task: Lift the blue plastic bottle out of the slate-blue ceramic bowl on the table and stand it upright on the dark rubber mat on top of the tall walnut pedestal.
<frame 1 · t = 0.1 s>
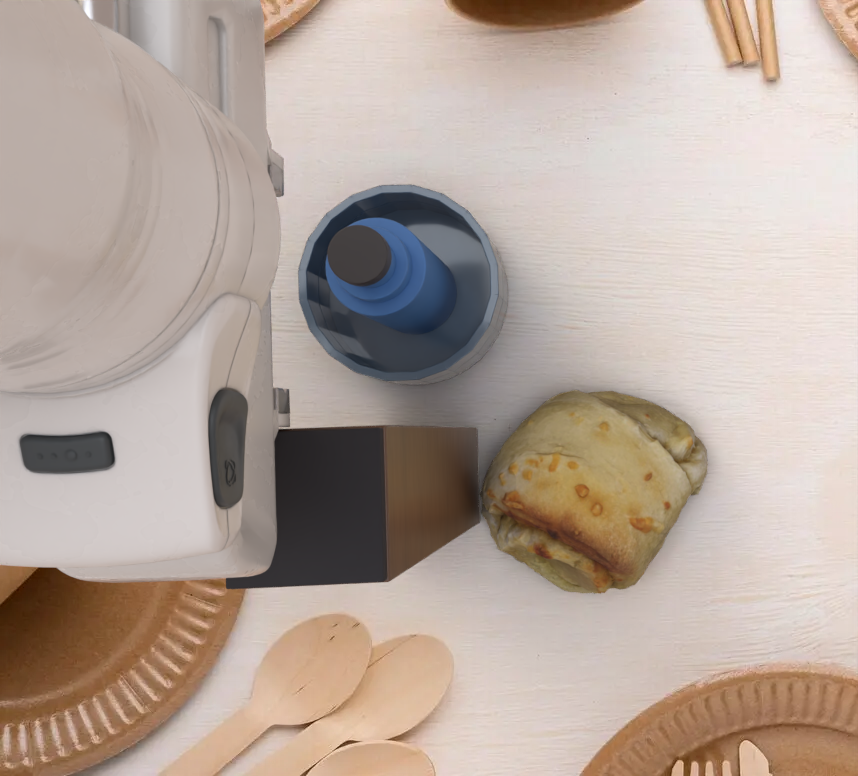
hand: (266, 293, 41), 26 cm above the table, tool pointing down, fingers open, 7 cm apart
pedestal: (430, 477, 66), on the table
mat: (307, 506, 40), resting on pedestal
bowl: (417, 294, 66), on the table
pastry: (595, 489, 67), on the table
bottle: (414, 292, 66), point 1 cm above the table, touching bowl
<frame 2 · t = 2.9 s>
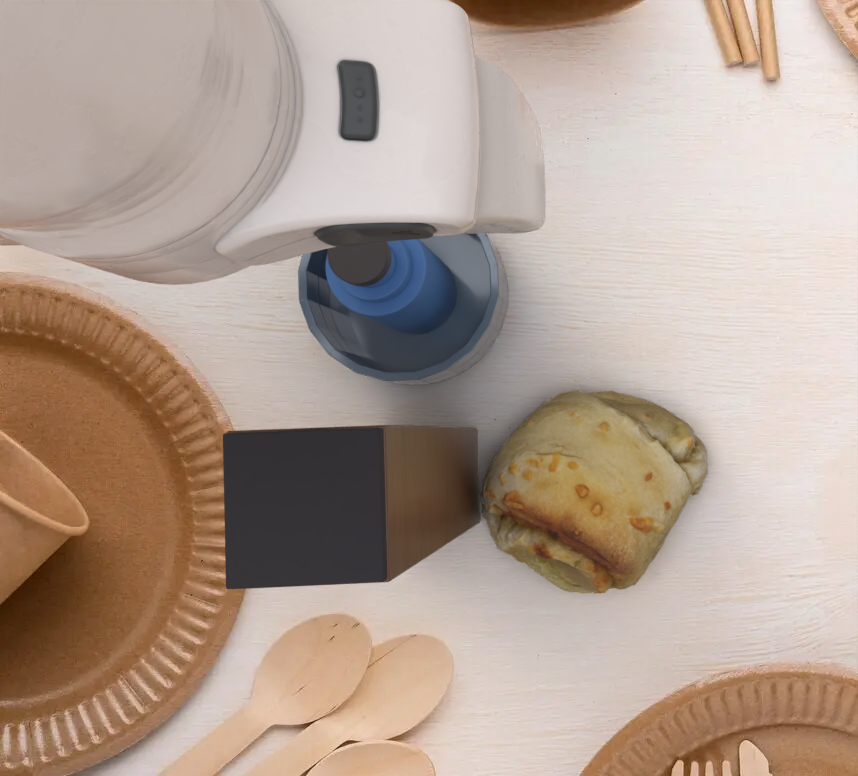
hand: (305, 218, 43), 24 cm above the table, tool pointing down, fingers open, 8 cm apart
nothing on the table moved.
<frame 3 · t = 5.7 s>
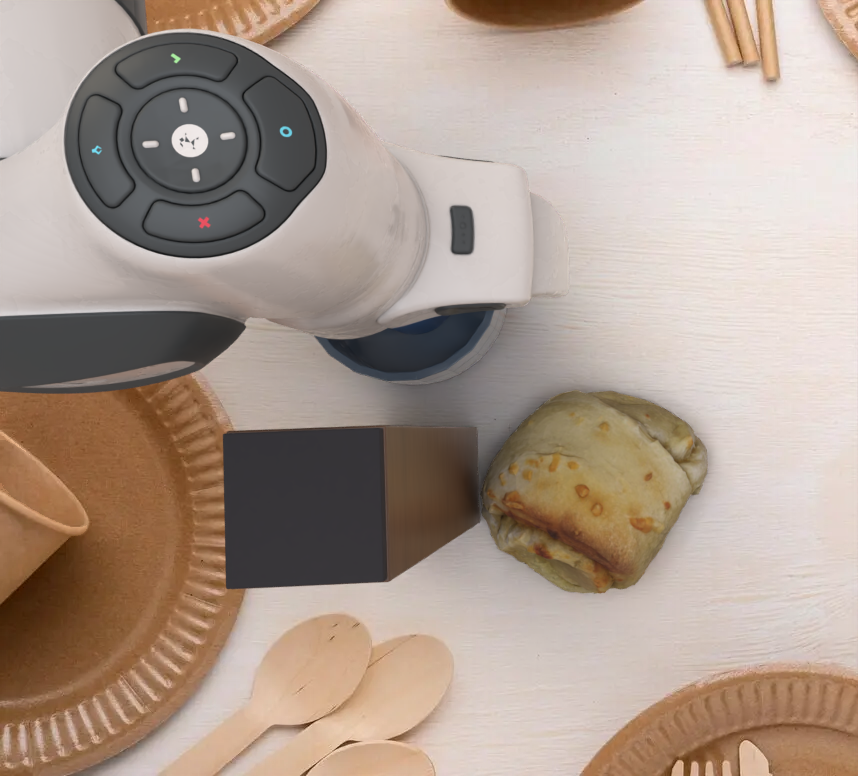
hand: (398, 281, 61), 6 cm above the table, tool pointing down, fingers closed on bottle, 5 cm apart
bottle: (414, 292, 66), point 1 cm above the table, touching bowl, gripper
everything else where it was.
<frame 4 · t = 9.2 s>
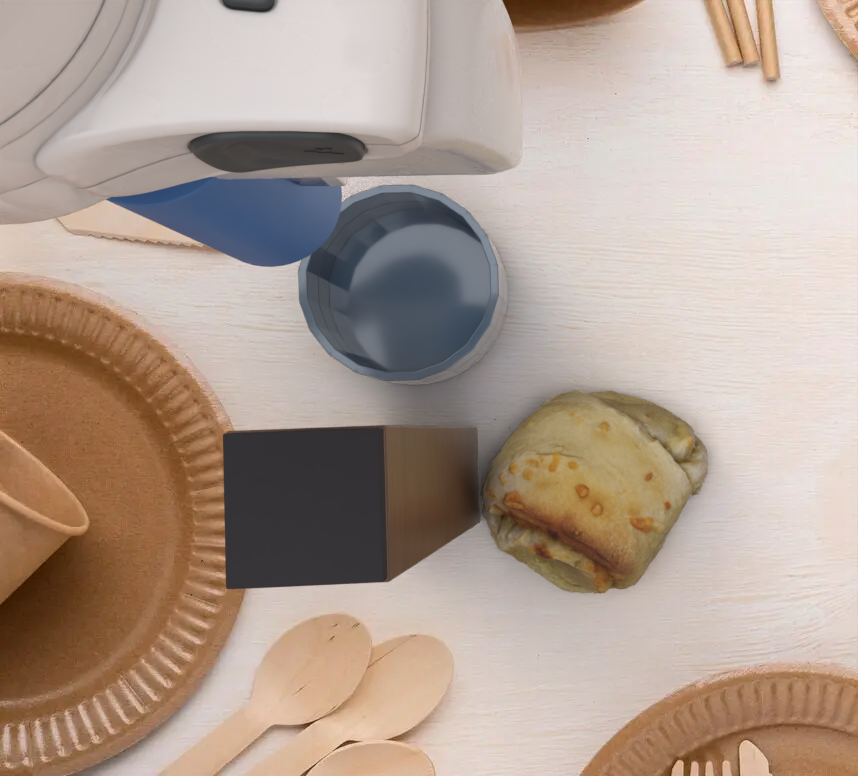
hand: (223, 164, 34), 33 cm above the table, tool pointing down, fingers closed on bottle, 5 cm apart
bottle: (270, 197, 39), point 28 cm above the table, touching gripper
everything else where it was.
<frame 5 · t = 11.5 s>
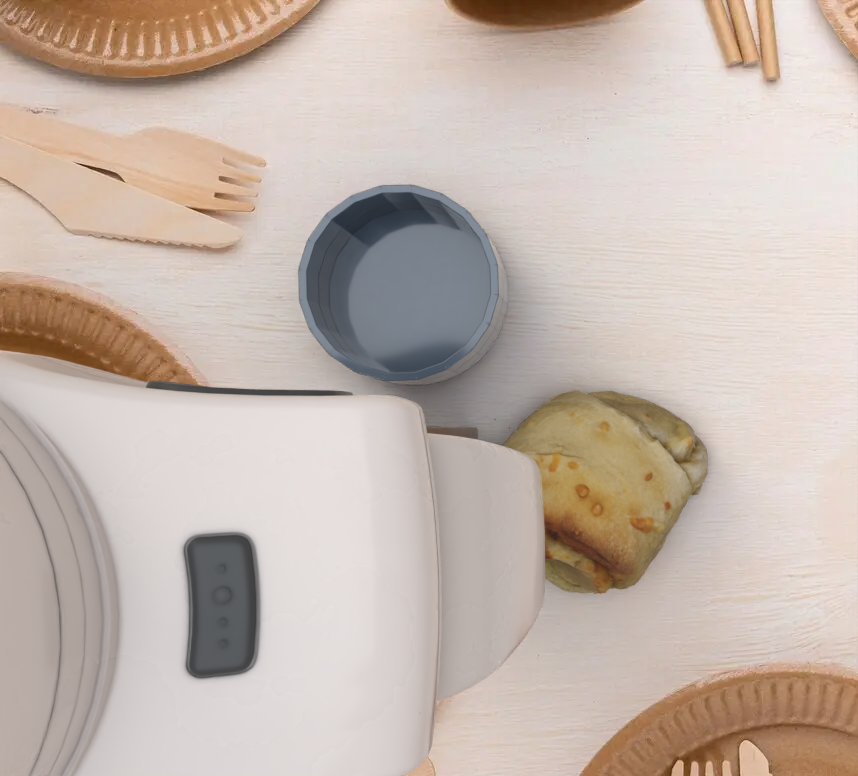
hand: (209, 529, 31), 36 cm above the table, tool pointing down, fingers closed on bottle, 5 cm apart
bottle: (263, 515, 35), point 31 cm above the table, touching gripper
everything else where it was.
when the fingers open (31 cm above the table, at t = 13.1 s): bottle stays where it is, resting on mat.
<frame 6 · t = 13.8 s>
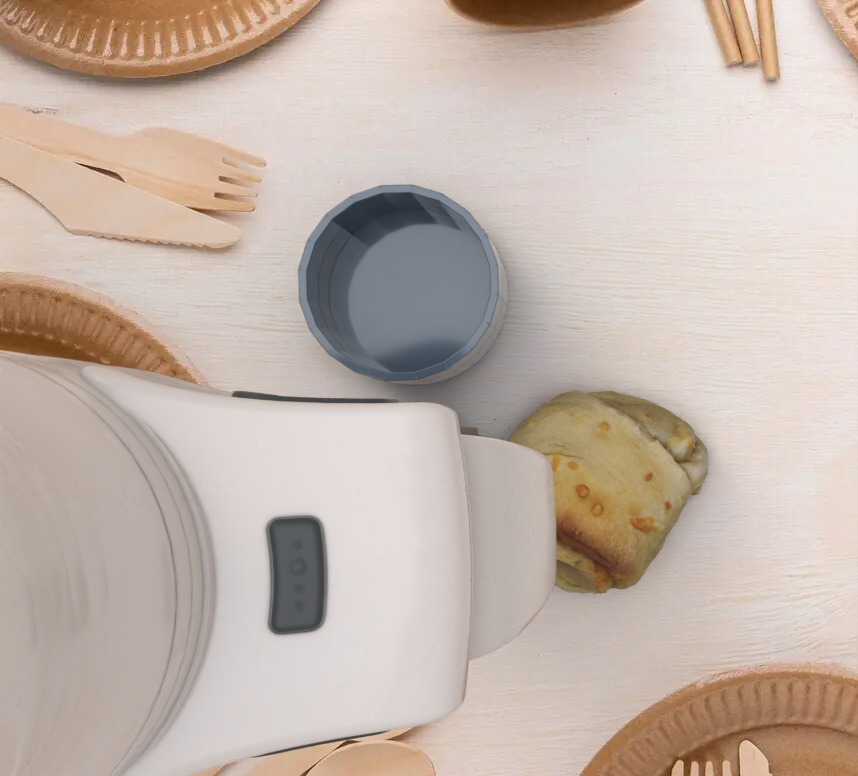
hand: (254, 520, 34), 32 cm above the table, tool pointing down, fingers open, 8 cm apart
bottle: (300, 507, 39), point 27 cm above the table, touching mat
everything else where it was.
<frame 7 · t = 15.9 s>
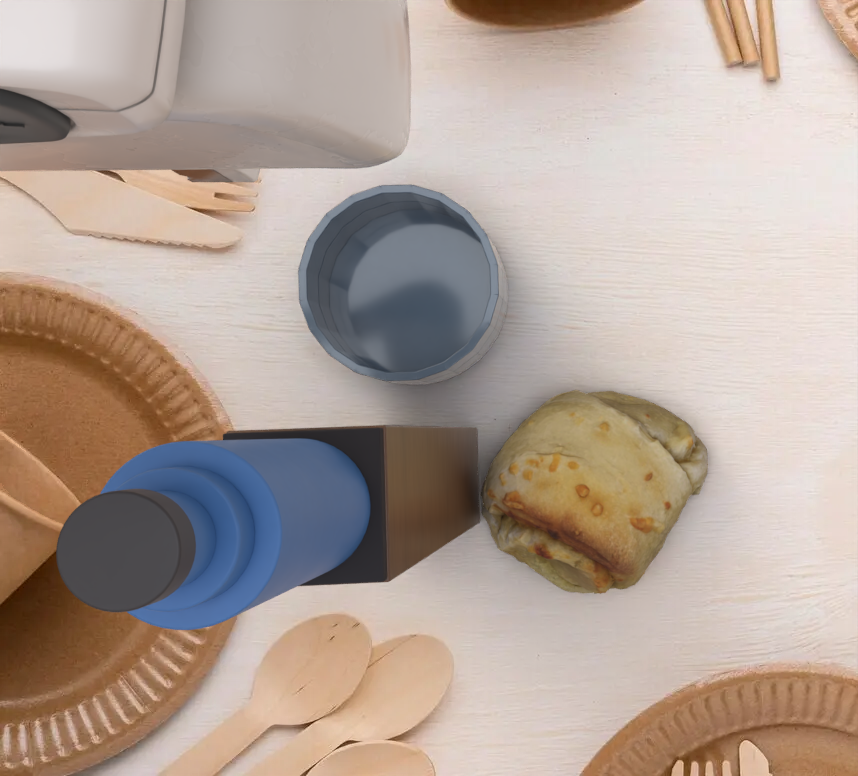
hand: (24, 151, 25), 41 cm above the table, tool pointing down, fingers open, 8 cm apart
nothing on the table moved.
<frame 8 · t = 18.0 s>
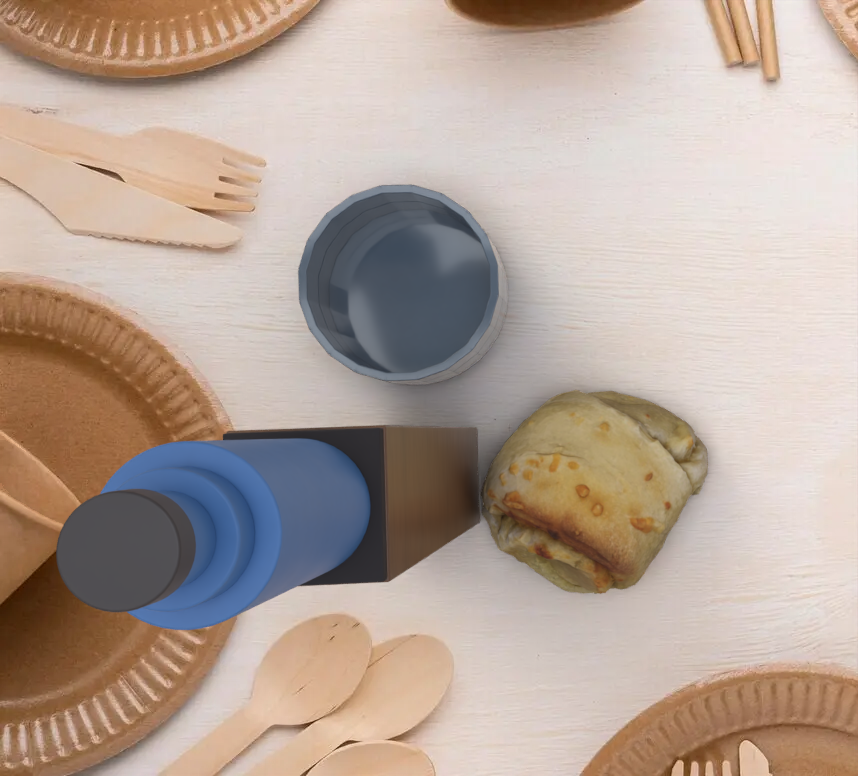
nothing on the table moved.
at the end: bottle 0.1 cm off-centre on the mat, point 0.6 cm above the mat's base; bottle tilted 0°; bottle touching mat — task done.
